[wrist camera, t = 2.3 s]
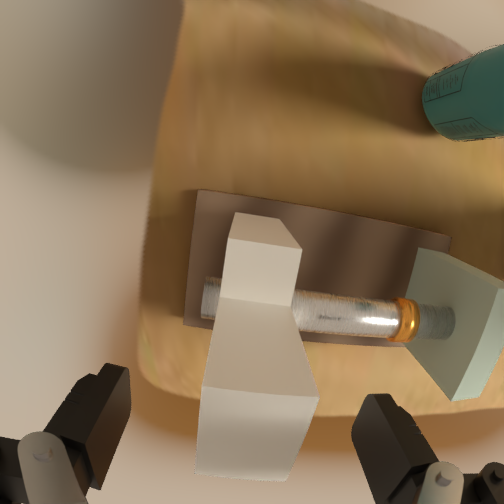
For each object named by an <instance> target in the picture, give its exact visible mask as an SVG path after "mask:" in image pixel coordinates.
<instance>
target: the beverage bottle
mask: <svg viewBox="0 0 504 504" xmlns="http://www.w3.org/2000/svg"><path fill="white" fill-rule="evenodd" d="M468 57H470V56H468ZM455 63H456V62H455ZM455 63H454V64H455ZM454 64H453V65H452V66H451V67H449V68H447V69H445V68H446V67H444V70H441V69H440V70H441V72H439V73H435V74H434V73H433V74H434V75H433V76H432V74H431V77H430V76H429V77H430V78H429V77H428V78H429V79H428V80H427V82H426V83H425V85H424V88H423V92H422V103H423V108H424V111H425V114H426V116H427V119H428V120H429V122H430V124H431V125H432V126H433V127H434V129H435V130H436V131H437V132H439V133H440V134H441V135H443V136H445V137H446V138H448V139H453V140H467V139H471V140H467V141H474V140H472V139H477V140H485V139H483V138H495V137H498V136H504V44H503V45H500V46H498V47H495V48H492V49H489V50H487V51H484V52H481V53H479V54H478V53H477V54H476V55H475V56H472V57H471V58H468V59H466V60H464V61H462V62H460V63H458V64H455V65H454ZM447 67H448V66H447ZM442 69H443V68H442ZM495 139H496V138H495ZM497 139H498V138H497ZM499 139H500V138H499ZM453 140H452V141H453ZM486 140H487V139H486ZM465 142H466V141H465Z"/></svg>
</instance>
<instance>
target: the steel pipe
mask: <svg viewBox="0 0 504 504" xmlns="http://www.w3.org/2000/svg"><path fill="white" fill-rule="evenodd" d="M221 283H222V279H221V278H214V277H208V276H207V277H206V281H205V285H204V291H203V297H202V305H201V318H205V319H212V320H215V317H216V312H217V308H218V303H219V298H220V291H221ZM291 309H292V312H293V315H294V318H295V321H296V324H297V327H298V330H299V331H306V332H316V333H327V334H339V335H351V336H365V337H381V338H386V339H387V340H388V341H389V342H405V343H407V342H410V341H412V340H413V339H427V340H446V339H448V338H449V337H450V336H451V335H452V333H453V331H454V328H455V323H456V318H455V313H454V311H453V309H452V308H451V307H449V306H439V305H429V304H419V303H417V302H416V301H415V300H413V299H408V298H399V297H394V298H392V299H391V300H381V299H373V298H364V297H355V296H347V295H339V294H331V293H323V292H315V291H307V290H299V289H294V293H293V298H292V303H291Z"/></svg>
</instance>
